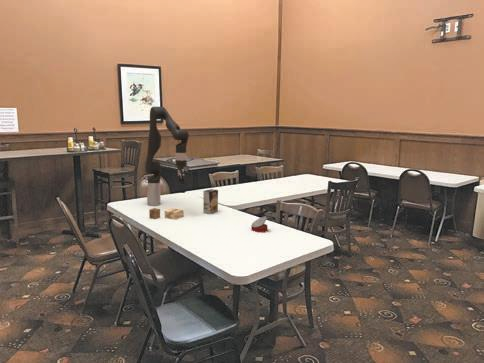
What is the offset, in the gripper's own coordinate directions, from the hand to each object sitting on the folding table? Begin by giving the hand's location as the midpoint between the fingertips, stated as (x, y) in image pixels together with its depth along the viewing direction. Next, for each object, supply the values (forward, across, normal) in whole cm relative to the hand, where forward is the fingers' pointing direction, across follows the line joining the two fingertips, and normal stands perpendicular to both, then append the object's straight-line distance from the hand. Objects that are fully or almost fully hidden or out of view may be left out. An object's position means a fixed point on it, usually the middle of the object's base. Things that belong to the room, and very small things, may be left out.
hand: (181, 182), depth 280 cm
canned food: (+23, +50, +38) cm, 67 cm away
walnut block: (+23, +4, -19) cm, 30 cm away
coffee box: (+23, 0, +21) cm, 31 cm away
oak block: (+23, +6, -6) cm, 24 cm away
